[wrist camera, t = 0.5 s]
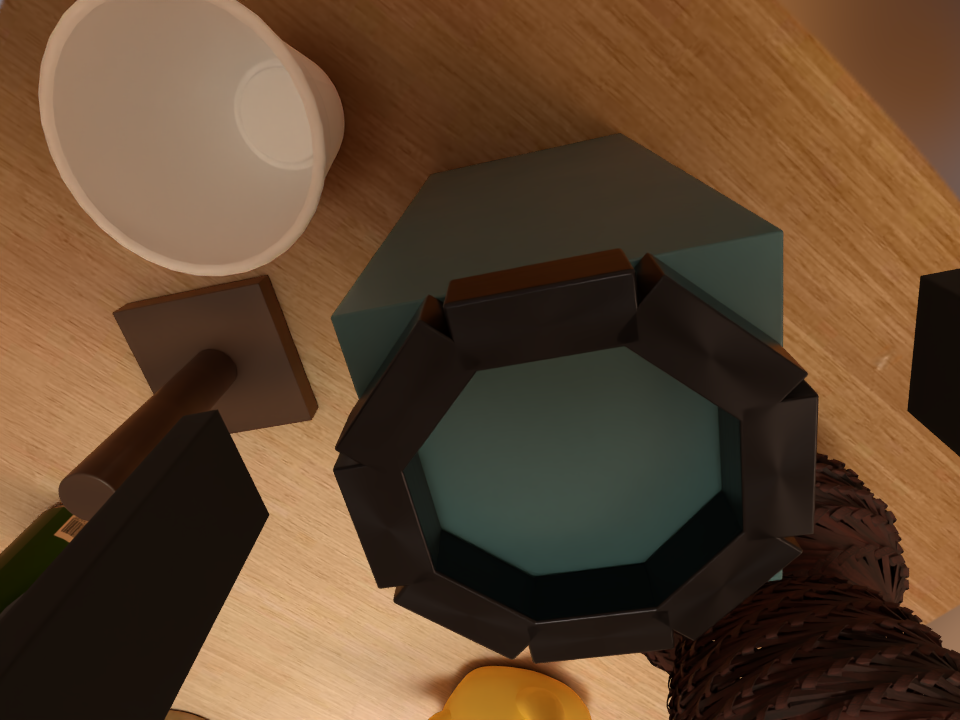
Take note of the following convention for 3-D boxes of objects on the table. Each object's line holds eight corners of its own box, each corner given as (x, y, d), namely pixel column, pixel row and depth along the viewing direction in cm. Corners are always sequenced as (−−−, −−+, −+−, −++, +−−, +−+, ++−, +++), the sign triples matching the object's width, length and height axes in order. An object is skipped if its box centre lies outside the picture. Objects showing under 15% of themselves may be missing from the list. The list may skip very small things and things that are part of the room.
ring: (303, 307, 14) (279, 335, 12) (788, 213, 12) (825, 233, 11) (419, 629, 18) (412, 678, 17) (785, 587, 17) (811, 635, 15)
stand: (430, 174, 32) (329, 317, 14) (621, 132, 30) (784, 230, 13) (471, 343, 36) (435, 622, 18) (640, 313, 35) (783, 580, 17)
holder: (126, 303, 36) (-69, 426, 24) (267, 274, 35) (138, 387, 22) (189, 429, 40) (48, 591, 27) (318, 407, 38) (231, 566, 26)
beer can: (57, 487, 42) (-97, 632, 31) (130, 524, 43) (5, 676, 33) (33, 534, 44) (-120, 685, 33) (103, 568, 45) (-23, 725, 35)
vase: (540, 496, 41) (607, 1338, 14) (714, 335, 35) (1399, 1225, 8) (698, 604, 44) (993, 1431, 18) (878, 474, 39) (1720, 1398, 12)
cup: (148, 69, 30) (-28, 72, 20) (311, -40, 28) (203, -98, 18) (265, 244, 34) (166, 318, 24) (418, 160, 31) (378, 205, 22)
